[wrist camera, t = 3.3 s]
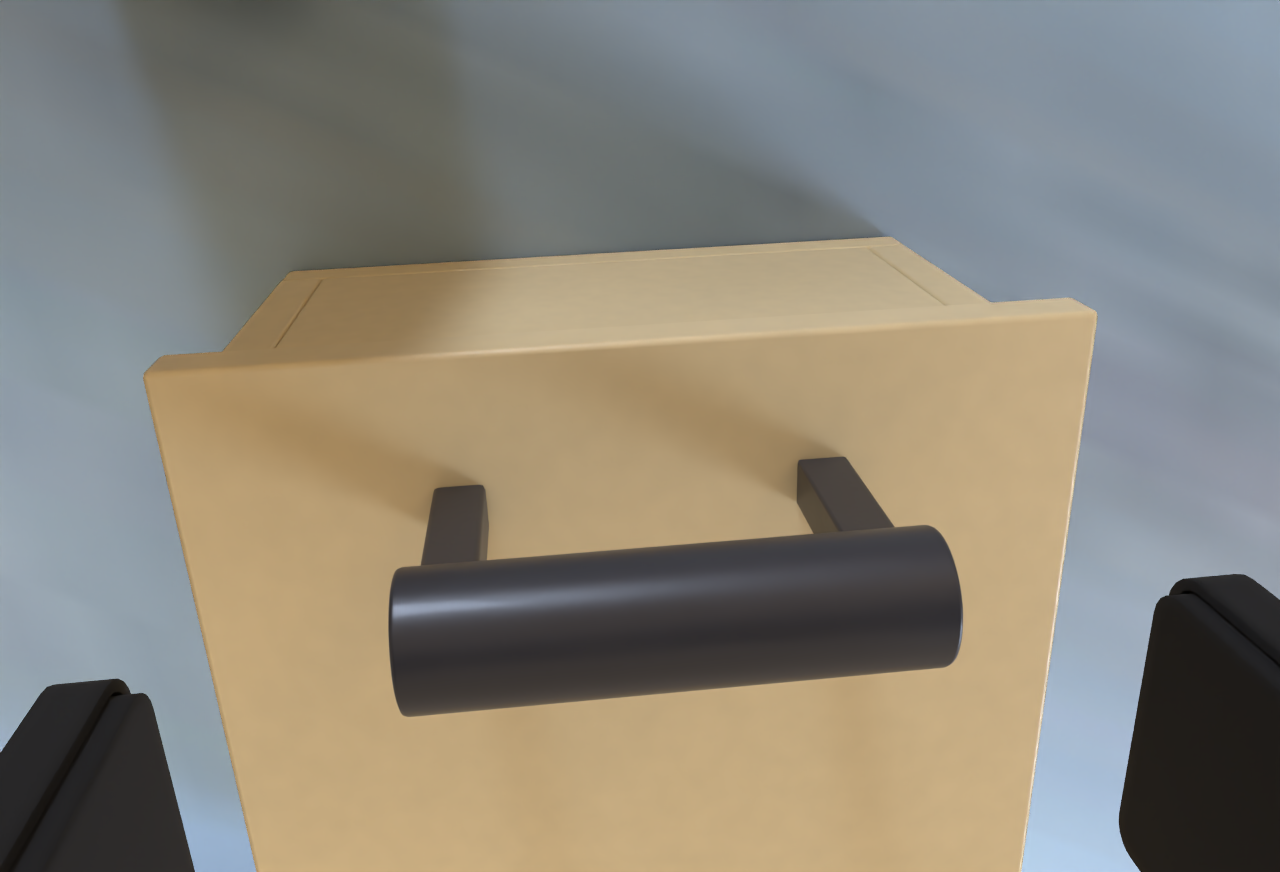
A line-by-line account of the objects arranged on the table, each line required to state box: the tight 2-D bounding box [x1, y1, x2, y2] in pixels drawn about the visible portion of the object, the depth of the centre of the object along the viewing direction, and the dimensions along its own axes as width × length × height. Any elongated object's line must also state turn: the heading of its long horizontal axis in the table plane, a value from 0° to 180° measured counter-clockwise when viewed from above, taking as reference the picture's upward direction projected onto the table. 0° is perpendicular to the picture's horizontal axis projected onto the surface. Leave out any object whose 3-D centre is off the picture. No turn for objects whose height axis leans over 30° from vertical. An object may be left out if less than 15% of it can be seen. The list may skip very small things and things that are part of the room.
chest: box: [222, 237, 991, 352], centre depth 22 cm, size 16×13×8 cm
